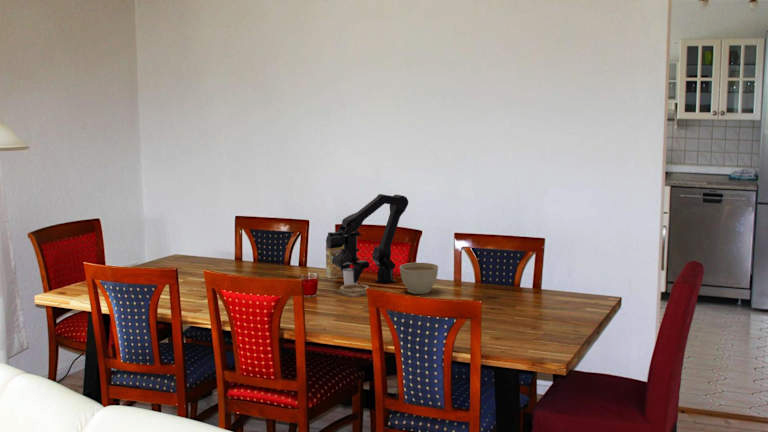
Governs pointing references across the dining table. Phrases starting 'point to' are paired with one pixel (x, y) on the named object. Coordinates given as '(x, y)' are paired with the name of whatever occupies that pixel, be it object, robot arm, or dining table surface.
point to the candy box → (331, 268)
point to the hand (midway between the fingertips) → (350, 281)
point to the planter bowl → (419, 277)
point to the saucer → (352, 290)
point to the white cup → (348, 276)
